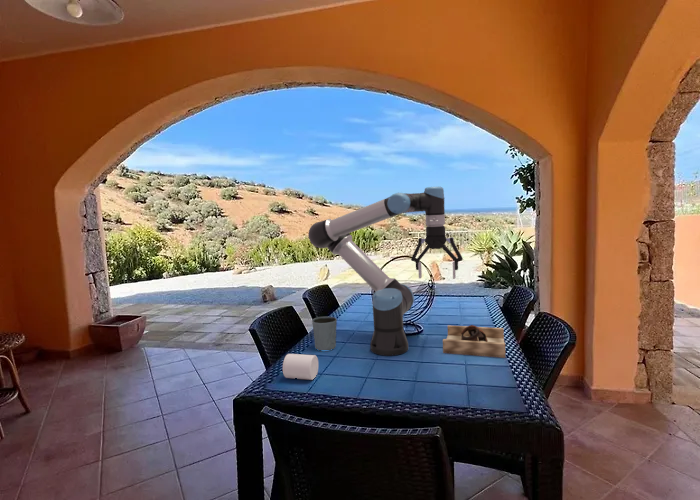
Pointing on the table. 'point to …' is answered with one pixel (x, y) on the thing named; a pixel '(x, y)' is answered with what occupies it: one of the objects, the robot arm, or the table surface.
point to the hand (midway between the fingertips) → (437, 278)
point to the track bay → (475, 342)
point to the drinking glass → (324, 332)
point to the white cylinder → (300, 366)
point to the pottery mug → (474, 334)
